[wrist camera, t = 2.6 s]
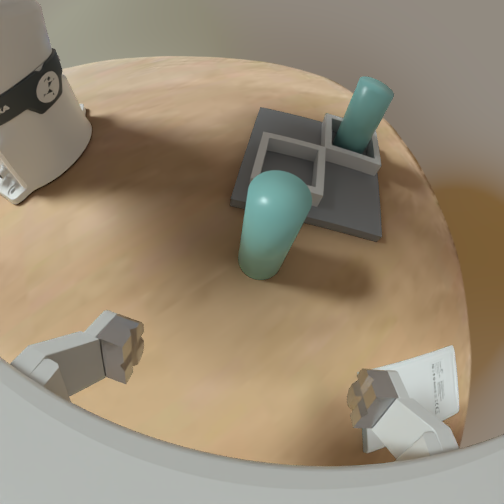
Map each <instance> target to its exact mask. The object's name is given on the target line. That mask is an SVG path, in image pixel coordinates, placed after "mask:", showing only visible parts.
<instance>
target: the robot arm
mask: <svg viewBox="0 0 504 504" xmlns="http://www.w3.org/2000/svg"><path fill="white" fill-rule="evenodd" d="M85 115H86V109H85V107H84V105H83V104H79V102H78V100H77V98H76V96H75V94H74V92H73V90H72V88H71V86H70V84H69V82H68V80H67V78H66V76H65V75H62V68H61V64H60V59H59V56H58V55H57V53H56V50H55V49H53V48H51V45H50V41H49V37H48V33H47V30H46V26H45V21H44V17H43V13H42V9H41V6H40V4H39V3H38V2H37V1H35V0H0V195H2V196H3V197H5V198H6V199H7V200H9V201H10V202H11V203H13V204H18V203H20V202H21V201H22V200H24V199H25V198H26V197H27V196H28V195H29V194H30V193H31V192H32V191H34V190H36V189H37V188H39V187H42V186H44V185H46V184H47V183H49V182H51V181H52V180H54V179H56V178H57V177H58V176H60V175H61V174H62V173H63V172H65V171H66V170H67V169H68V168H69V167H70V166H71V165H72V164H73V163H74V162H75V161H76V160H77V159H78V158H79V156H80V155H81V154H82V152H83V151H84V150H85V148H86V146H87V144H88V143H89V140H90V138H91V133H92V127H91V124H90V122H89V121H88V119H87V118H86V116H85ZM143 332H144V324H143V323H142V322H140V321H137V320H134V319H131V318H128V317H126V316H123V315H120V314H117V313H114V312H112V311H109V310H105V311H104V312H103V313H102V314H101V315H100V316H99V317H98V318H97V319H96V320H95V321H94V322H93V323H92V324H91V325H90V326H89V327H88V328H87V329H86V330H85V332H81V331H79V332H76V333H72V334H69V335H65V336H62V337H58V338H54V339H51V340H47V341H43V342H40V343H36V344H32V345H29V346H27V347H26V348H25V349H24V350H23V351H22V352H21V353H20V354H19V355H18V356H17V357H16V358H15V359H14V360H13V361H12V362H11V364H9V363H8V362H6V361H5V360H4V359H2V358H1V357H0V504H504V434H503V435H500V436H498V437H495V438H492V439H489V440H486V441H484V442H481V443H478V444H475V445H471V446H468V447H465V448H461V449H459V447H458V444H457V442H456V440H455V437H454V435H453V433H452V431H451V429H450V427H448V426H447V425H446V424H444V423H443V422H442V421H441V420H439V419H438V418H437V417H436V416H434V415H433V414H432V413H431V412H429V411H428V410H427V409H426V408H424V407H423V406H422V405H421V404H419V403H418V402H417V401H416V400H414V399H413V398H410V397H409V395H408V393H407V391H406V388H405V386H404V384H403V382H402V380H401V378H400V376H399V373H398V372H397V371H396V370H375V369H362V370H361V371H360V372H359V373H358V375H357V378H358V380H357V381H356V382H354V383H353V384H352V385H351V387H350V388H349V390H348V394H347V404H348V407H349V408H350V409H351V410H352V413H351V414H350V417H351V421H352V426H353V428H372V430H373V432H374V433H375V434H376V435H377V437H378V438H379V439H380V440H381V441H382V443H383V444H384V445H385V446H386V447H387V449H388V450H389V451H390V452H391V453H392V455H393V456H394V457H395V458H396V460H395V461H394V462H390V463H381V464H369V465H354V466H303V465H287V464H275V463H266V462H258V461H251V460H244V459H238V458H232V457H227V456H221V455H217V454H212V453H207V452H203V451H199V450H195V449H191V448H187V447H183V446H180V445H176V444H173V443H169V442H166V441H163V440H160V439H156V438H153V437H150V436H148V435H145V434H142V433H139V432H136V431H134V430H131V429H128V428H126V427H123V426H121V425H118V424H116V423H114V422H111V421H109V420H107V419H104V418H102V417H100V416H98V415H95V414H93V413H91V412H89V411H87V410H85V409H83V408H81V407H79V406H77V405H75V404H73V403H71V401H70V398H69V396H71V395H73V394H75V393H77V392H79V391H81V390H83V389H85V388H87V387H89V386H91V385H92V384H94V383H96V382H98V381H100V380H102V379H104V378H105V376H106V377H108V378H111V379H113V380H116V381H119V382H122V383H124V384H127V382H128V380H129V378H130V377H131V375H132V373H133V366H135V365H137V364H138V363H139V361H140V359H141V357H142V354H143V349H144V340H143V339H142V337H141V335H142V334H143Z"/></svg>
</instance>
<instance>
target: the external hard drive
mask: <svg viewBox="0 0 504 504" xmlns="http://www.w3.org/2000/svg"><path fill="white" fill-rule="evenodd" d="M374 369H375V370H396V371H397V372H398V373H399V376H400V378H401V380H402V382H403V384H404V386H405V388H406V391H407V393H408V395H409V397H410V398H413V399H414V400H416V401H417V402H418V403H419V404H421V405H422V406H423V407H424V408H426V409H427V410H428V411H429V412H431V413H432V414H433V415H434V416H436V417H437V418H438V419H439V420H441V421H444V420H445V419H447V418H449V417H451V416H453V415H454V414H456V413H458V412H459V393H458V379H457V368H456V359H455V351H454V347H453V345H451V346H447V347H444V348H441V349H438V350H436V351H433V352H430V353H426V354H423V355H420V356H417V357H414V358H410V359H407V360H404V361H400V362H397V363H393V364H389V365H386V366H382V367H378V368H374ZM358 373H359V372H357V375H358ZM362 435H363V452H365V453H370V452H373V451H375V450H378V449H381V448H384V447H386V446H385V445H384V444H383V443H382V441H381V440H380V439H379V438H378V437H377V435H376V434H375V433H374V432H373V430H372V428H362Z"/></svg>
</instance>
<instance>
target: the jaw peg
mask: <svg viewBox="0 0 504 504" xmlns="http://www.w3.org/2000/svg"><path fill="white" fill-rule="evenodd" d="M311 206H312V195H311V192H310V190H309V188H308V186H307V185H306V184H305V183H304V182H303V181H302V180H301V179H300V178H298V177H297V176H295V175H293V174H291V173H289V172H285V171H280V170H271V171H266V172H263V173H261V174H259V175H257V176H256V177H255V178H254V179H253V180H252V181H251V183H250V185H249V188H248V193H247V200H246V207H245V214H244V220H243V227H242V234H241V241H240V248H239V255H238V263H239V266H240V268H241V270H242V271H243V272H244V273H245V274H246V275H247V276H249V277H251V278H253V279H257V280H265V279H269V278H271V277H273V276H274V275H275V274H276V273H277V272H278V270H279V269H280V267H281V265H282V263H283V261H284V259H285V257H286V255H287V254H288V252H289V250H290V248H291V246H292V244H293V242H294V240H295V238H296V236H297V234H298V232H299V230H300V228H301V226H302V224H303V223H304V221H305V219H306V217H307V215H308V213H309V211H310V209H311Z"/></svg>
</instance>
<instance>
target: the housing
mask: <svg viewBox="0 0 504 504" xmlns="http://www.w3.org/2000/svg"><path fill="white" fill-rule="evenodd" d="M393 97H394V93H393V91H392V90H391V89H390V88H389V87H388V86H387V85H385V84H384V83H382V82H380V81H378V80H376V79H373V78H370V77H361V78H360V79H359V82H358V84H357V87H356V90H355V91H354V94H353V96H352V99H351V101H350V103H349V106H348V108H347V111H346V113H345V115H344V118H341V117H338V116H334V115H331V114H328V113H326V114H325V117H324V119H323V122H320V121H316V120H312V119H309V118H305V117H301V116H297V115H293V114H289V113H285V112H280V111H276V110H271V109H266V108H261V107H260V110H259V113H258V116H257V119H256V122H255V125H254V128H253V131H252V134H251V137H250V140H249V143H248V146H247V149H246V152H245V155H244V158H243V161H242V164H241V167H240V171H239V174H238V177H237V180H236V183H235V187H234V190H233V193H232V196H231V202H230V206H234V207H238V208H243V209H245V207H246V200H247V193H248V188H249V185H250V183H251V181H252V180H253V179H254V178H255V177H256V176H257V175H259V174H261V173H263V172H266V171H271V170H280V171H285V172H289V173H291V174H293V175H295V176H297V177H298V178H300V179H301V180H302V181H303V182H304V183H305V184H306V185H307V186H308V188H309V190H310V192H311V195H312V206H311V209H310V211H309V213H308V215H307V217H306V219H305V221H304V223H307V224H311V225H315V226H319V227H323V228H327V229H330V230H334V231H338V232H342V233H346V234H349V235H353V236H357V237H361V238H364V239H368V240H372V241H375V242H377V241H378V240H379V239H380V238H381V237H382V229H381V210H380V197H379V185H378V175H377V172H378V170H379V169H380V167H381V159H380V152H379V146H378V140H377V134H376V129H377V127H378V125H379V123H380V121H381V119H382V118H383V116H384V114H385V112H386V110H387V108H388V106H389V104H390V102H391V101H392V99H393Z"/></svg>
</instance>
